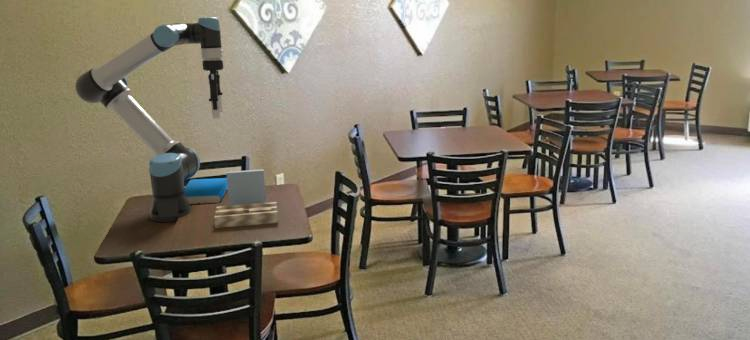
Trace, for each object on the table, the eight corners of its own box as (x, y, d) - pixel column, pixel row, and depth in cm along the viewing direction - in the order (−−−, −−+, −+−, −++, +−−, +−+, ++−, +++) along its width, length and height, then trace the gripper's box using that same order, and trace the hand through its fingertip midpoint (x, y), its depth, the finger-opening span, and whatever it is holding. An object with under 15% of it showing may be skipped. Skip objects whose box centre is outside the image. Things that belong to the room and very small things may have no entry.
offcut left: (218, 225, 215) (217, 212, 214) (219, 223, 217) (217, 210, 216) (244, 223, 217) (243, 210, 215) (244, 221, 219) (243, 208, 218)
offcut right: (249, 222, 217) (248, 211, 216) (250, 220, 219) (249, 208, 218) (272, 221, 218) (271, 209, 217) (272, 218, 221) (271, 207, 220)
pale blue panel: (229, 212, 233) (226, 173, 229) (230, 211, 235) (226, 171, 231) (266, 210, 235) (263, 170, 231) (266, 208, 237) (263, 169, 233)
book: (178, 196, 243) (189, 178, 267) (179, 206, 245) (190, 188, 269) (221, 194, 245) (229, 176, 269) (222, 204, 246) (229, 186, 270)
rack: (215, 231, 213) (214, 217, 212) (217, 220, 225) (216, 206, 223) (278, 226, 217) (277, 212, 216) (277, 215, 228) (276, 201, 227)
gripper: (220, 61, 216) (225, 120, 221) (224, 56, 239) (229, 109, 245) (199, 62, 214) (204, 121, 220) (205, 57, 238) (210, 110, 244)
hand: (217, 115), depth 233 cm, fingers open, 13 cm apart
